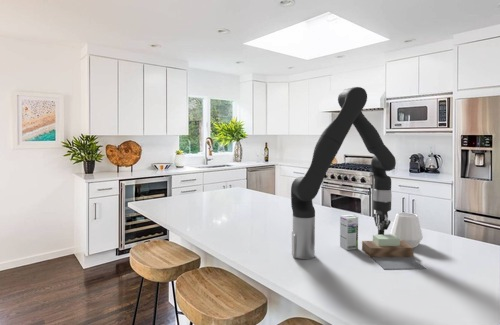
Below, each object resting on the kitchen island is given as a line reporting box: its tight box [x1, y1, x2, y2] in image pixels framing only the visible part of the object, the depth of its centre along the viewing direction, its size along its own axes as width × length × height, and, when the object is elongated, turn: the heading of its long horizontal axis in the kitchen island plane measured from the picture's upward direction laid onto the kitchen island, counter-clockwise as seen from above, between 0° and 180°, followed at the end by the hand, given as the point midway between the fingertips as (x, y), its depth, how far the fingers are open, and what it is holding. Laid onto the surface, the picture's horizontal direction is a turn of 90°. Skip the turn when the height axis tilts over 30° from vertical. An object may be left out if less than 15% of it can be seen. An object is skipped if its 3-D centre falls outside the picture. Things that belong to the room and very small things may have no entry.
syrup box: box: [339, 214, 359, 251], centre depth 142 cm, size 6×6×14 cm
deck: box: [361, 240, 415, 259], centre depth 135 cm, size 18×9×4 cm, turn 90°
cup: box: [390, 211, 423, 248], centre depth 146 cm, size 13×13×14 cm
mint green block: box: [372, 233, 400, 246], centre depth 136 cm, size 9×6×3 cm, turn 90°
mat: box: [372, 257, 427, 270], centre depth 125 cm, size 16×11×1 cm
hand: (380, 237), depth 141 cm, fingers closed
